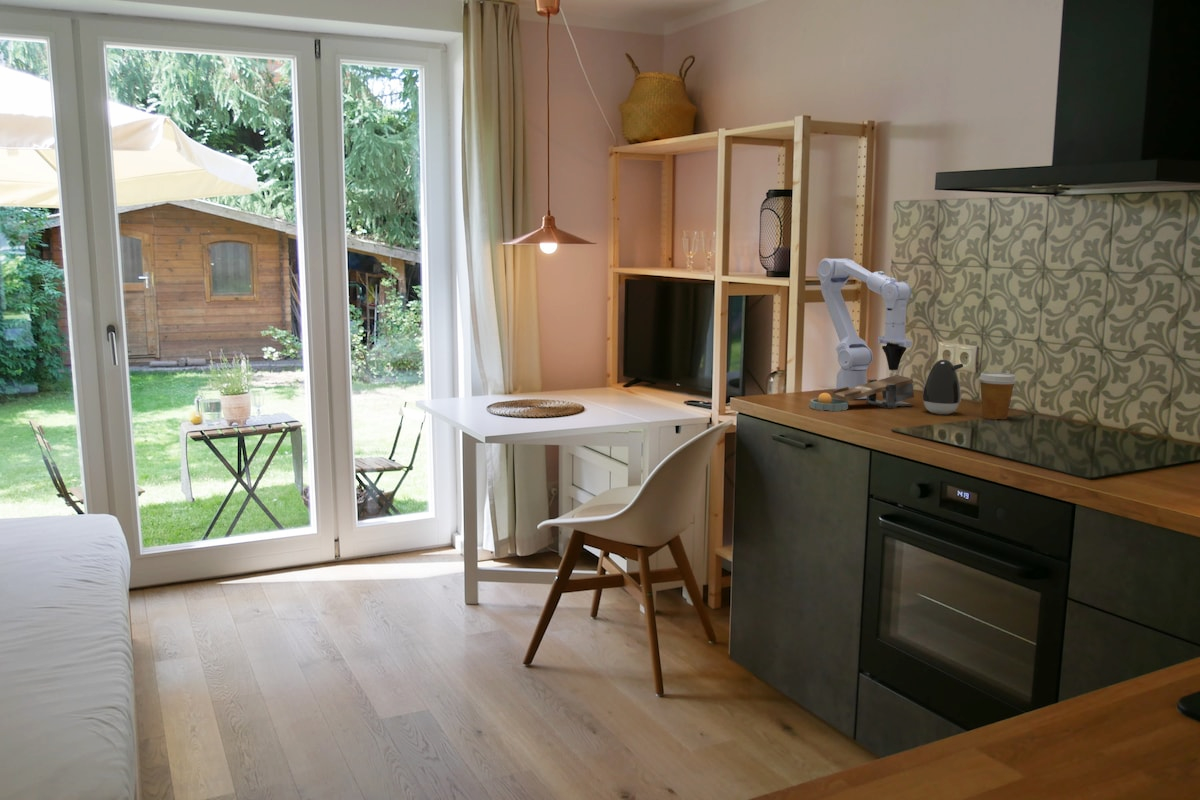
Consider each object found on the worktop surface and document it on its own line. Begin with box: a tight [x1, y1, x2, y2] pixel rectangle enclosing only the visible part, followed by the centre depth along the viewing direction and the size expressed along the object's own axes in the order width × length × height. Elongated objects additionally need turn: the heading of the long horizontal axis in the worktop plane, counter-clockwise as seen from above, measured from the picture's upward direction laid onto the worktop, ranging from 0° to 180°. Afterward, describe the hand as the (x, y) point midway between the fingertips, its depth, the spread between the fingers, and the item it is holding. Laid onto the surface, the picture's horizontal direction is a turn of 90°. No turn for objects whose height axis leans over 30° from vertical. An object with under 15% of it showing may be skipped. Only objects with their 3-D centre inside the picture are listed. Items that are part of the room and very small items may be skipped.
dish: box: [809, 397, 849, 412], centre depth 283 cm, size 11×11×2 cm
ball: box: [817, 392, 833, 404], centre depth 282 cm, size 4×4×4 cm
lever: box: [831, 374, 915, 402], centre depth 286 cm, size 22×8×6 cm, turn 106°
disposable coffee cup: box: [978, 371, 1017, 420], centre depth 269 cm, size 10×10×12 cm
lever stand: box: [866, 378, 912, 410], centre depth 288 cm, size 9×11×7 cm
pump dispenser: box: [922, 359, 964, 415], centre depth 275 cm, size 10×10×15 cm
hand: (893, 369), depth 288 cm, fingers closed
